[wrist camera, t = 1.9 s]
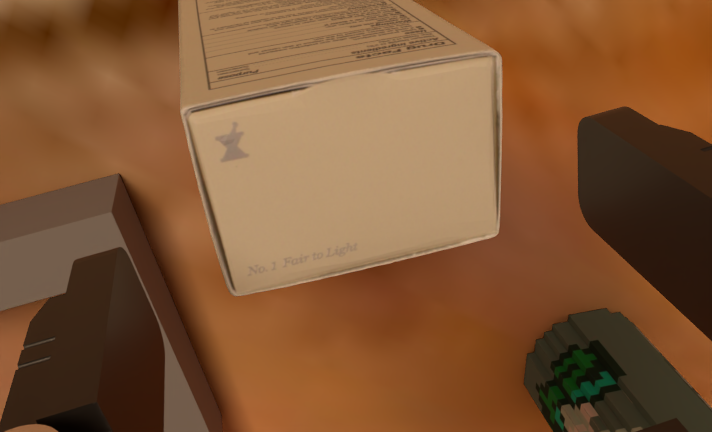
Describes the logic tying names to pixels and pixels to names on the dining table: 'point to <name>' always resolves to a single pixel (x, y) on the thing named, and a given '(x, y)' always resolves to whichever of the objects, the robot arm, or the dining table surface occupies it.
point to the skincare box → (337, 135)
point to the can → (608, 379)
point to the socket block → (91, 236)
